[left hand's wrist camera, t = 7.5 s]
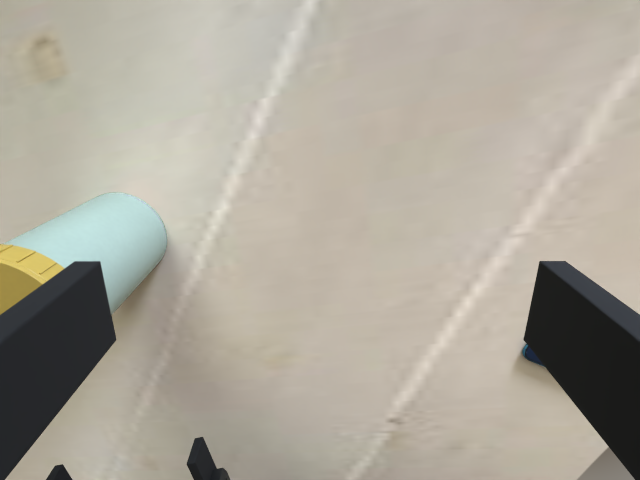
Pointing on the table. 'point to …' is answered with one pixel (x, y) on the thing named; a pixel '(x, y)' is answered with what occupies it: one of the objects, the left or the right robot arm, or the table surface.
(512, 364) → the table surface
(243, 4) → the table surface
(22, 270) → the lid
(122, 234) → the jar
